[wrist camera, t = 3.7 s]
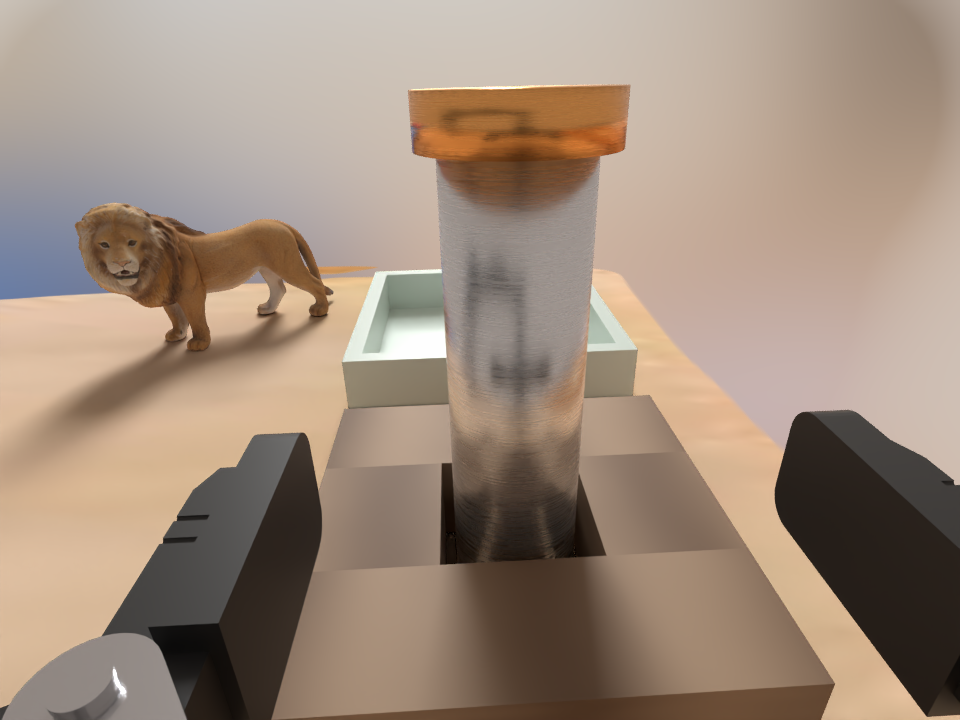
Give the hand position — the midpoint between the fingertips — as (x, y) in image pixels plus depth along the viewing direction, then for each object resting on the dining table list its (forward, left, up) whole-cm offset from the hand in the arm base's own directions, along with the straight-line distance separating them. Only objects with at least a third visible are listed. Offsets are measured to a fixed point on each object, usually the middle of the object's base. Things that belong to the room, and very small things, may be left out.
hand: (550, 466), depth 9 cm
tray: (0, +23, -9) cm, 24 cm away
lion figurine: (-16, +27, -9) cm, 33 cm away
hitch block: (0, +6, -9) cm, 10 cm away
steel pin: (0, +6, -9) cm, 10 cm away
